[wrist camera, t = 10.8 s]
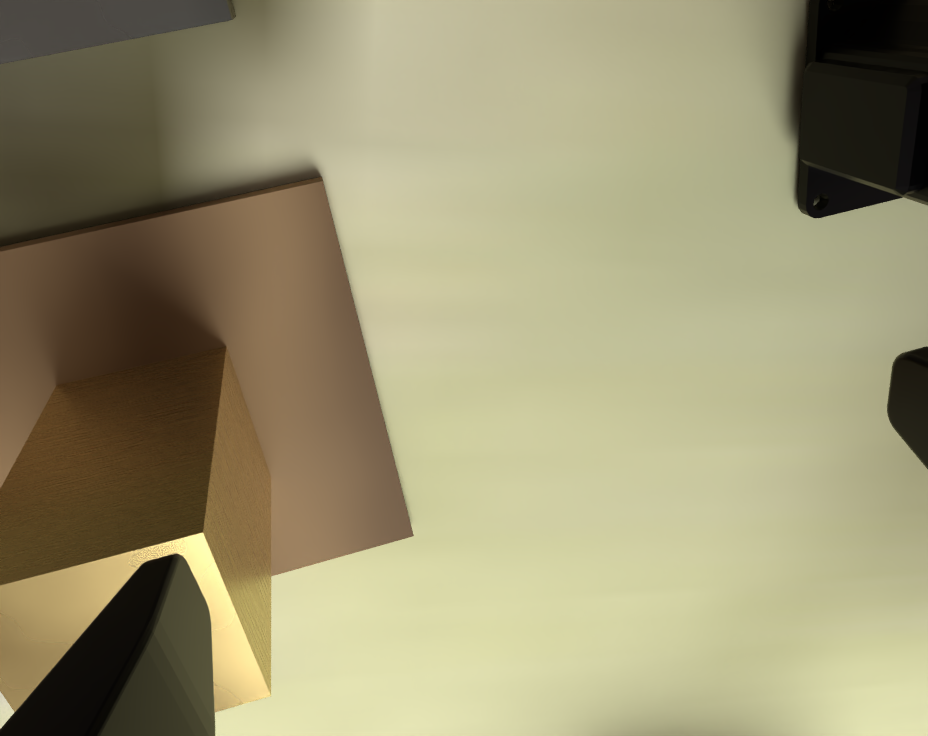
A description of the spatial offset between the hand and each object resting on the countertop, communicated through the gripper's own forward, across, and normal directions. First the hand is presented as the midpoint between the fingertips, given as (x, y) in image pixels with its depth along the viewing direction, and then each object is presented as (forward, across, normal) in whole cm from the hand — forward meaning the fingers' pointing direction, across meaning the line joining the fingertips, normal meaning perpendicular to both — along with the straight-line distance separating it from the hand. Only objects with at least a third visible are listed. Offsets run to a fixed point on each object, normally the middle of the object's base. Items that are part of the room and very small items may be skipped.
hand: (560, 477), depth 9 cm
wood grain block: (+12, +8, +5) cm, 15 cm away
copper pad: (+13, +8, +5) cm, 16 cm away
